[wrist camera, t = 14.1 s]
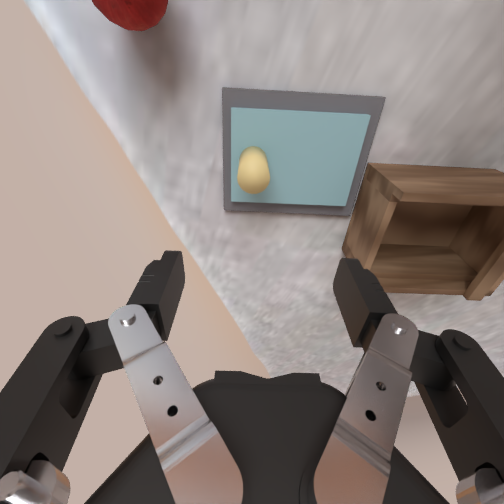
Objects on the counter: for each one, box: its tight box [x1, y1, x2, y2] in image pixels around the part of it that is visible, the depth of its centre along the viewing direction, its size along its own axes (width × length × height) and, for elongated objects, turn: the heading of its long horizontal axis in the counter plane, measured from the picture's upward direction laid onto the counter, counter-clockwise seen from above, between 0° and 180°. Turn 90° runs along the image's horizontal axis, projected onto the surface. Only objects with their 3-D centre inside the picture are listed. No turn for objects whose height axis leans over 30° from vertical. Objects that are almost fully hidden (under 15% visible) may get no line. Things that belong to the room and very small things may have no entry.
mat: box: [222, 87, 386, 216], centre depth 29 cm, size 13×16×1 cm
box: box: [342, 163, 504, 301], centre depth 30 cm, size 12×15×9 cm
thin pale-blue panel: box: [231, 107, 371, 206], centre depth 26 cm, size 10×14×6 cm
